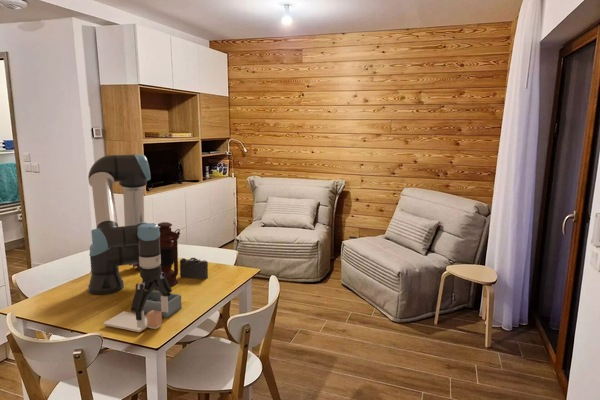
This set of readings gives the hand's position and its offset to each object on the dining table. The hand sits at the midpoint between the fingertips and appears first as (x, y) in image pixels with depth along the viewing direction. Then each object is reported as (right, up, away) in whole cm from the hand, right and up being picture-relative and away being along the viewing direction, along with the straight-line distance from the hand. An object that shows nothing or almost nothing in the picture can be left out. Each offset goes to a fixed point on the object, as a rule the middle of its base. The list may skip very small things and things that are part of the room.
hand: (153, 319), depth 153 cm
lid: (-8, -4, +3) cm, 9 cm away
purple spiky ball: (-32, +8, +67) cm, 74 cm away
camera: (+1, +6, +58) cm, 58 cm away
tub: (-4, -1, +17) cm, 17 cm away
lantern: (-12, +4, +45) cm, 47 cm away
